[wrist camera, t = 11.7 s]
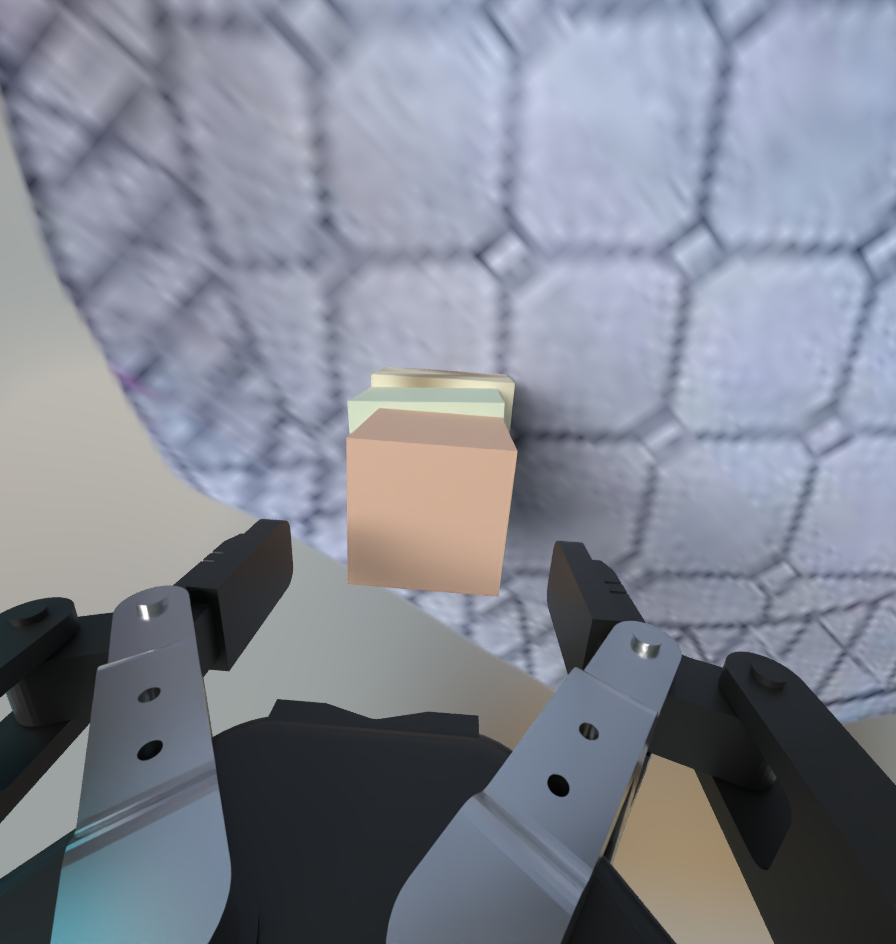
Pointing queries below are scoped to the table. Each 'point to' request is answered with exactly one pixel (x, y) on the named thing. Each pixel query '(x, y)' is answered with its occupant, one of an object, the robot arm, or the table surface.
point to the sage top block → (425, 402)
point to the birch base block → (447, 382)
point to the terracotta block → (429, 501)
